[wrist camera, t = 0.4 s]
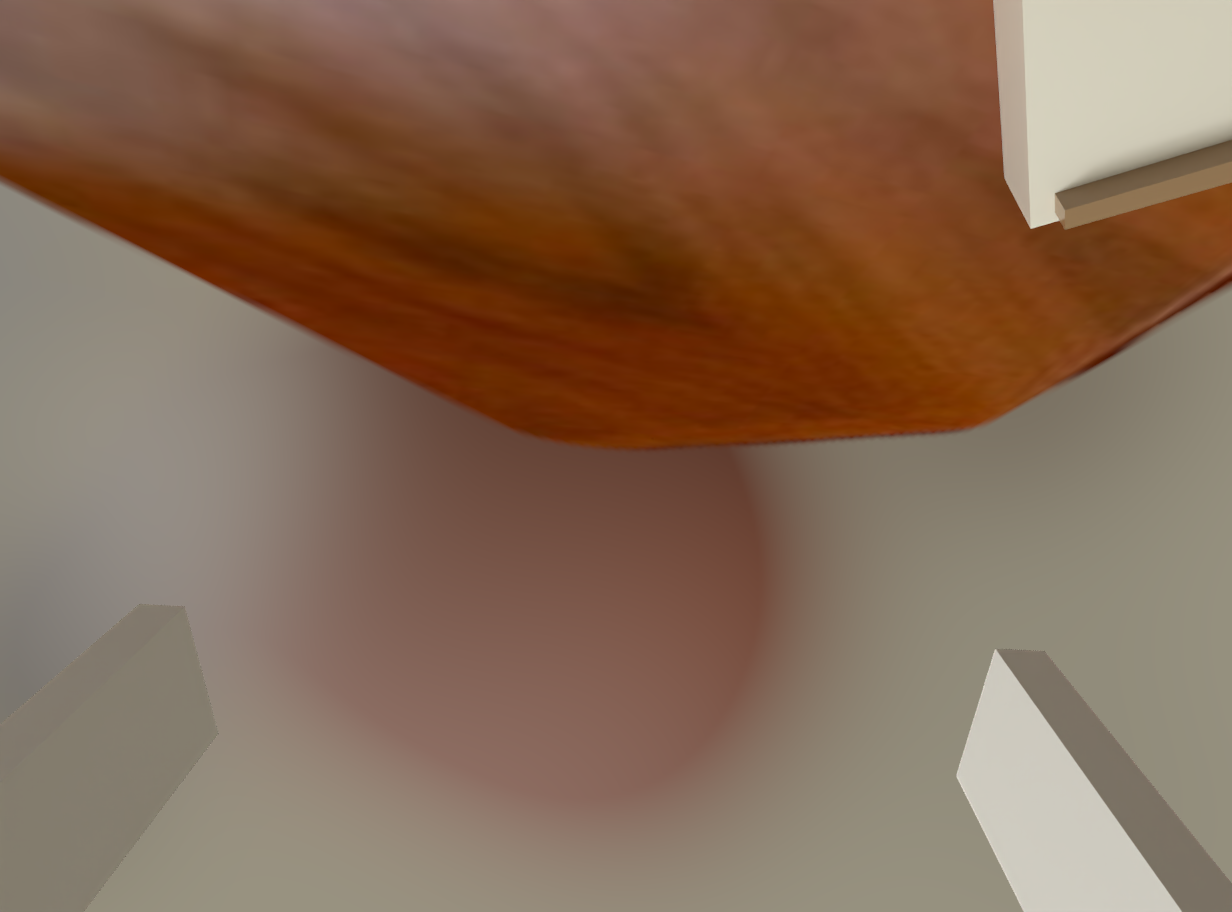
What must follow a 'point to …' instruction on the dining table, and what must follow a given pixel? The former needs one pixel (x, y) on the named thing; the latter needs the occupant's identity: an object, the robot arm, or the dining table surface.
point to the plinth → (1112, 103)
